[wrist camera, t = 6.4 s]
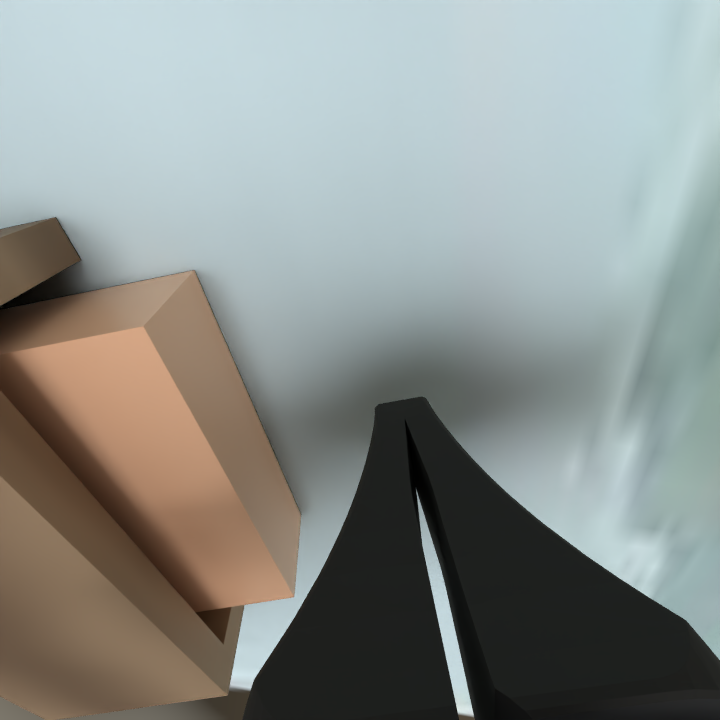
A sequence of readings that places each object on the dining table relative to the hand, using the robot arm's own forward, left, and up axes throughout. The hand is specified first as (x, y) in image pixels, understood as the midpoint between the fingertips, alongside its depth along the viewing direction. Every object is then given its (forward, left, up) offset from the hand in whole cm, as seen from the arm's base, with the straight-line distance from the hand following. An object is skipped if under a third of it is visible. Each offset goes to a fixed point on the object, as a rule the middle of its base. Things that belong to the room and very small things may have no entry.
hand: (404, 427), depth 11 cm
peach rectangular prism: (-4, +7, -1) cm, 8 cm away
